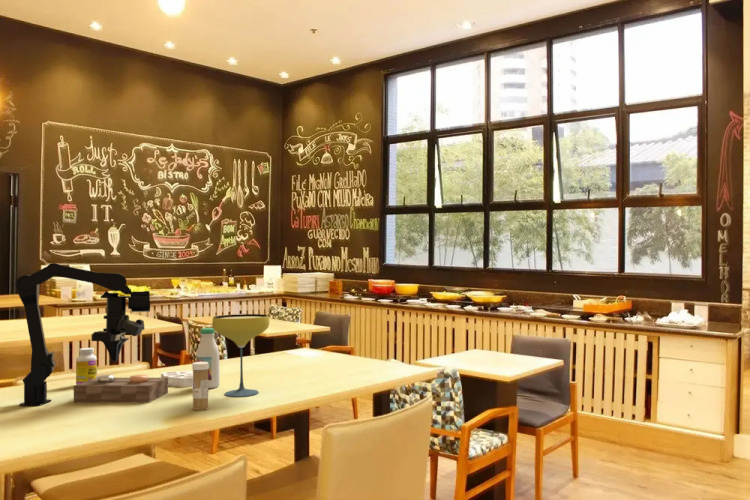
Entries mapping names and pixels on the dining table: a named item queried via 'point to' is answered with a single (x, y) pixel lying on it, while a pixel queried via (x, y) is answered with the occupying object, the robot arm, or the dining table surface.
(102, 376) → the knob steel
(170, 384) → the white recessed tray
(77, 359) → the supplement bottle
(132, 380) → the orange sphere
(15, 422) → the dining table surface
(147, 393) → the brown flat block
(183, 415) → the dining table surface
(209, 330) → the milk bottle
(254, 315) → the cocktail glass
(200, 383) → the sprinkles bottle
